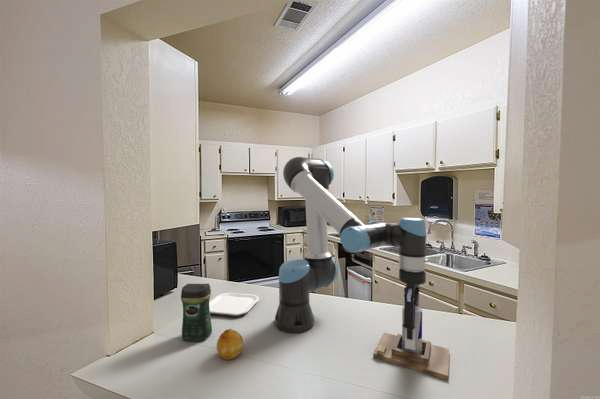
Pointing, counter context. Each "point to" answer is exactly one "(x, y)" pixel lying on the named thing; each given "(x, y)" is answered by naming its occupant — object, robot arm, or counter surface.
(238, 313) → the plate
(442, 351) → the socket plate
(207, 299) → the coffee jar
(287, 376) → the counter surface
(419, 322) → the beverage can
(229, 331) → the fruit
